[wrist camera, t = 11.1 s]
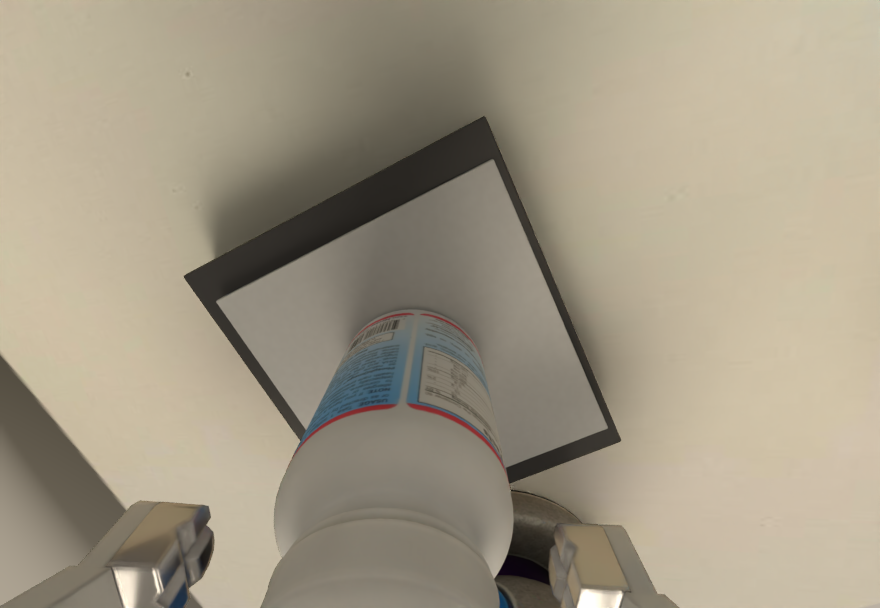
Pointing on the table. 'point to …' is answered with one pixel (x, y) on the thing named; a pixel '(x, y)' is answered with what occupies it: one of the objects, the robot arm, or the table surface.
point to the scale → (416, 295)
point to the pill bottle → (397, 478)
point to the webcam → (530, 553)
